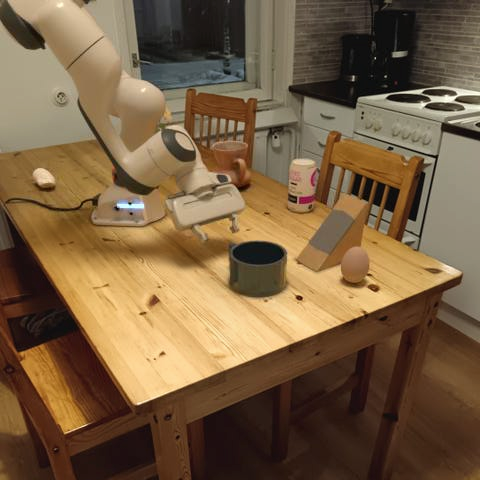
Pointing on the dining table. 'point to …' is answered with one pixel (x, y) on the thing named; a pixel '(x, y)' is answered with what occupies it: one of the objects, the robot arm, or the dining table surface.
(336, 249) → the sandwich container
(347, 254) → the egg
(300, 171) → the supplement can
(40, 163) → the dining table surface
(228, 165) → the ceramic jug
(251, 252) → the coffee mug
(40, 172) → the roll
